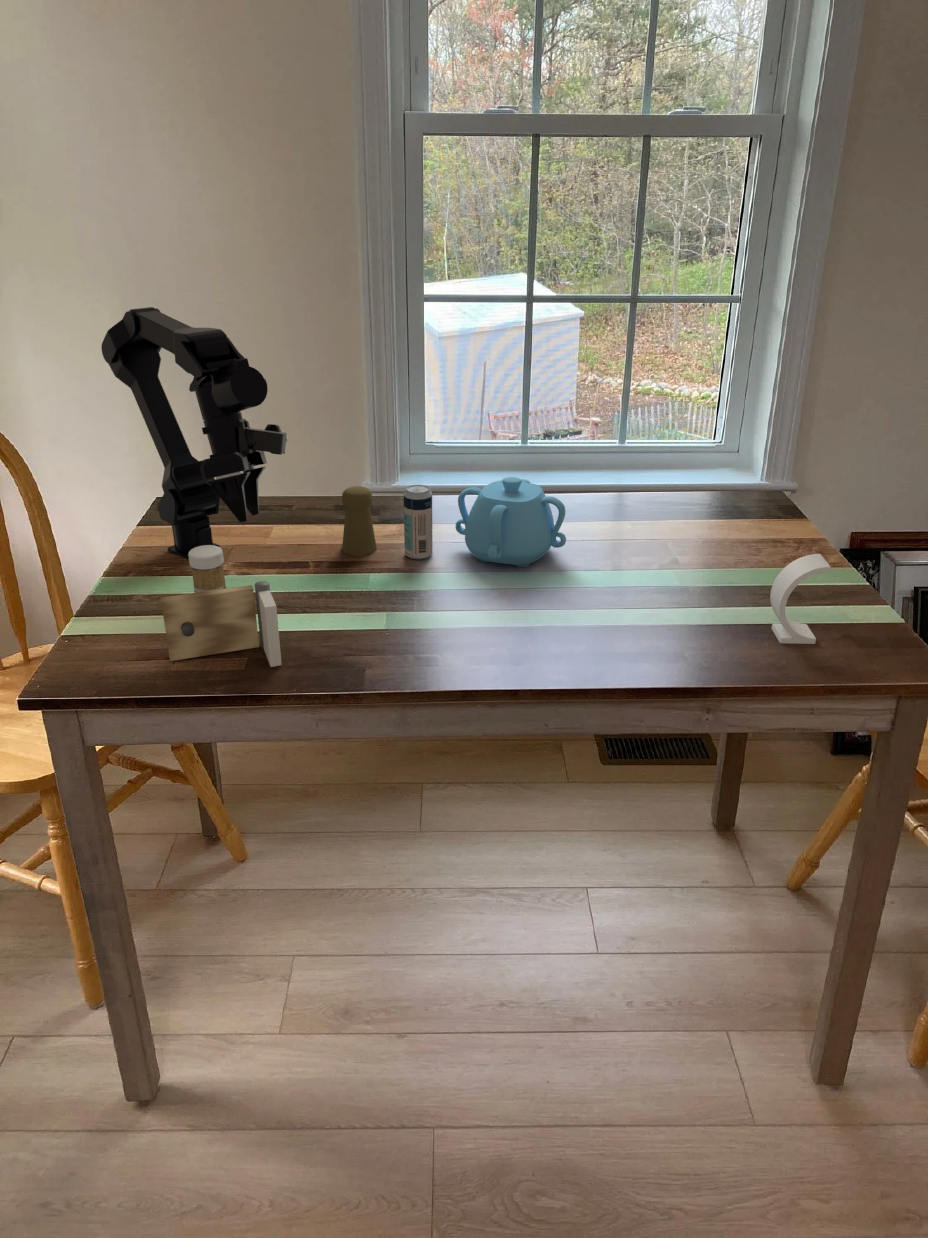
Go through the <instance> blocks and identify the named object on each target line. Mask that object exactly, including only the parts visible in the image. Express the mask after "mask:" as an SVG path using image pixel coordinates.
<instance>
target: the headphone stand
mask: <svg viewBox="0 0 928 1238" xmlns="http://www.w3.org/2000/svg"><path fill="white" fill-rule="evenodd" d="M831 568H832V567H831V565H830V564H829V563H828V562H827V560H826V559H825V558H824V557H823V555H822V554H821V553H813V554H808V555H804V556H802V557H799V558H797V559H795V560H793V561H792V562H790V563H788V564H787V565H786V566H785V567H784V568H783V569H781V571H780V572H779V573H778V574H777V576H776V577H775V579H774V581H773V583H772V586H771V590H770V594H769V597H770V604H771V605H770V606H771V608H772V611H773V613H774V614H775V617H776V618H777V619H778V621H779V622H780V623H772V625H771V630H772V633H774V635H775V637H776V639H777V640H778V642H779V644H798V645H799V644H802V645H804V644H805V645H807V644H808V645H809V644H810V645H812V644H813V645H816V641H817V638H816V636H815V635H814V633H813V632H812V630H811V629H810V627H809V626H808V624H807V623H801V622H800V623H799V622H796V621H793V620H791V619H789V618H788V617H787V615H786V606H787V602H788V599H789V597H790V596H791V593H792V592H793V591H794V590H795V588H797V586H798V585H799V584H801V583H802V582H804V581H805V580H806V579H808V578H811V577H812V576H813V577H814V576H815V575H816V576H817V575H820V574H827V573H828V574H829V573H830V572H831Z"/></svg>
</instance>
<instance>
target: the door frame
mask: <svg viewBox="0 0 928 1238" xmlns="http://www.w3.org/2000/svg"><path fill="white" fill-rule="evenodd" d="M254 589H255V590H254V595H255V600H256V601H255V604H256V614H257V624H258V634H259V644H260V647H261V649H263V651H264V653H265V656H266V659H267V661H268V665H269V667H270V668H272V667H273V668H274V667H279V666H282V665H283V664H282V656H281V655H282V654H281V652H282V651H281V643H280V632H279V622H278V621H279V620H278V609H277V605H276V601H275V599H274V597H273V595H272V592H271V586H270V582H269V581H266V580H261V581H257V582H255V583H254Z"/></svg>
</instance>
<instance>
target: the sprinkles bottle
mask: <svg viewBox="0 0 928 1238" xmlns="http://www.w3.org/2000/svg"><path fill="white" fill-rule="evenodd" d="M188 556H189V559H188V562H189V566H190V569H191V573H192V581H193V590H194V592H193V593H198V592H206V591H213V590H220V589H227V586H226V579H225V571H224V562H225V558H224V552H223V549H222V548H221V546H220V547H218V546H214V545H204V546H198V547H195V548H193V549H192V550H190V551H189V553H188Z"/></svg>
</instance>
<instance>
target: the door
mask: <svg viewBox="0 0 928 1238" xmlns="http://www.w3.org/2000/svg"><path fill="white" fill-rule="evenodd" d="M255 600H256V599H255V590H254V587H253V585H252V584H251V585H243V586H237V587H236V586H235V587H228V588H227V587H226V589H220V590H213V591H206V592H198V593H195V592H191V593H185V594H180V595H172V596H164V597H160V603H161V610H162V616H163V623H164V629H165V637H166V643H167V650H168V657H169V661H170V662H173V661H179V660H186V659H193V658H199V657H204V656H212V655H218V654H224V653H228V652H229V653H231V652H235V651H242V650H249V649H254V648H260V638H259V628H258V619H257V609H256V601H255Z"/></svg>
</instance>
